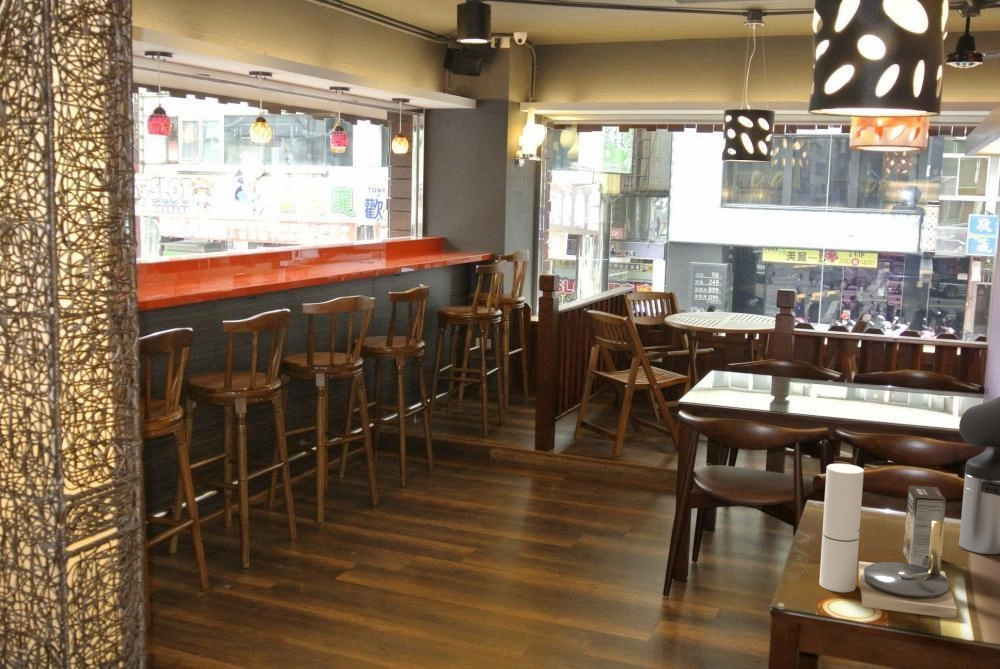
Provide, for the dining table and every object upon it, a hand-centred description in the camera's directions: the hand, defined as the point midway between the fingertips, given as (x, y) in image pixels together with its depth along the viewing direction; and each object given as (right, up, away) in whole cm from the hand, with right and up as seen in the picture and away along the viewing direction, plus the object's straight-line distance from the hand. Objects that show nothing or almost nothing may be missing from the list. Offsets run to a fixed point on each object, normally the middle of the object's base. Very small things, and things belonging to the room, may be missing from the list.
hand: (982, 485), depth 198 cm
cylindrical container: (-25, -22, +11) cm, 35 cm away
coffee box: (-2, -21, +25) cm, 32 cm away
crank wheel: (-12, -21, +7) cm, 25 cm away
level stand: (-13, -23, +7) cm, 27 cm away
